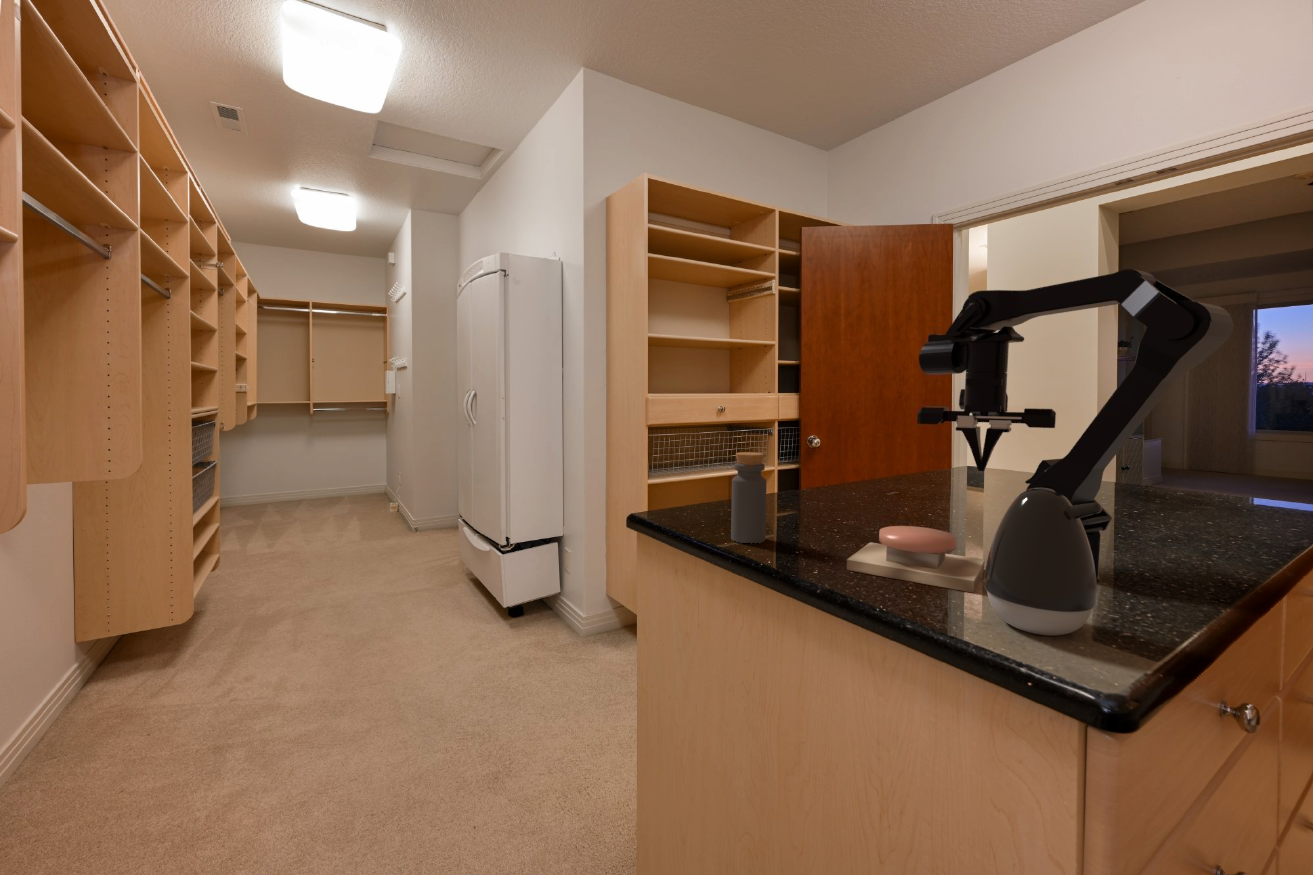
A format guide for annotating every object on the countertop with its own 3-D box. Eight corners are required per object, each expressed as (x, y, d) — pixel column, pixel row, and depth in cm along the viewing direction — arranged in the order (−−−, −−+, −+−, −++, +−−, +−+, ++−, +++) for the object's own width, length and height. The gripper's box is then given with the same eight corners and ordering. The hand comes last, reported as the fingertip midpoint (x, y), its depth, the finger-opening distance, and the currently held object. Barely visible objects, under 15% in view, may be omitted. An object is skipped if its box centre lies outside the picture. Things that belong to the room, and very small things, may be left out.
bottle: (765, 545, 95) (767, 455, 94) (729, 543, 96) (731, 454, 95) (765, 536, 101) (767, 452, 100) (732, 535, 102) (733, 451, 101)
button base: (984, 569, 83) (985, 545, 82) (973, 592, 73) (974, 565, 73) (869, 551, 92) (870, 529, 92) (846, 569, 82) (847, 545, 82)
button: (960, 555, 83) (961, 532, 83) (949, 572, 75) (950, 546, 75) (888, 544, 89) (889, 523, 89) (870, 559, 81) (871, 535, 81)
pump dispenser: (1067, 655, 55) (1076, 499, 54) (962, 619, 64) (969, 484, 63) (1115, 634, 60) (1125, 491, 59) (1012, 602, 69) (1019, 478, 68)
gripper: (1058, 373, 92) (1053, 470, 93) (931, 375, 103) (927, 462, 104) (1057, 371, 83) (1051, 478, 84) (918, 373, 93) (914, 468, 95)
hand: (981, 470), depth 92 cm, fingers closed
